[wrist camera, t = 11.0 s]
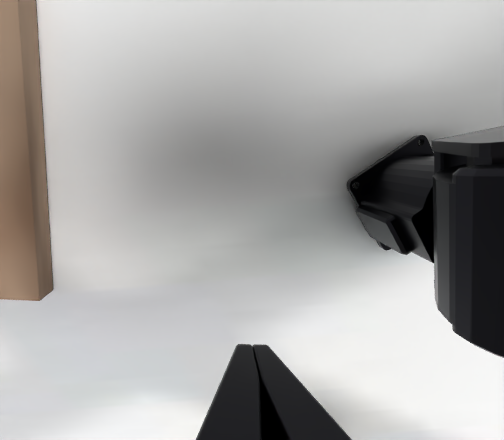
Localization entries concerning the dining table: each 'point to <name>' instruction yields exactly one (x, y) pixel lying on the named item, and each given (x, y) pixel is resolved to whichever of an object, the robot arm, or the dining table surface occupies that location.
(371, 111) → the dining table surface
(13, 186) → the wooden block stand
